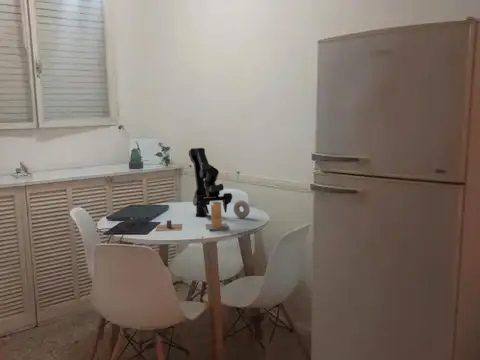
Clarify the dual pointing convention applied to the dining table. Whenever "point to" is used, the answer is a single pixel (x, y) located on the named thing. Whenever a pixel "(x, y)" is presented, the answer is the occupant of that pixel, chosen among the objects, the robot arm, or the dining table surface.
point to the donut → (245, 207)
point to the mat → (223, 228)
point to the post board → (174, 227)
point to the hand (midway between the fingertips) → (217, 212)
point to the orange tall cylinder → (216, 214)
